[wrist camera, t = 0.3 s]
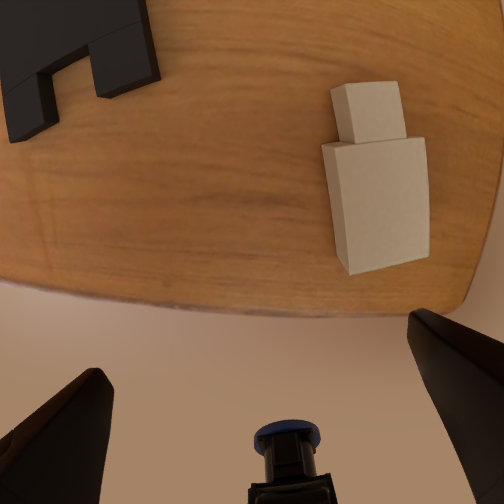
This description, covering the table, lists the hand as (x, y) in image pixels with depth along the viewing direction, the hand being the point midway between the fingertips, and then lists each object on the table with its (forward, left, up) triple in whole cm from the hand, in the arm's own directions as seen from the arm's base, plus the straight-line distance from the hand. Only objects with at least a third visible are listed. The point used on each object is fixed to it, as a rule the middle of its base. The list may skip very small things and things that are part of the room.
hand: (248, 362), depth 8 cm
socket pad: (+24, +9, -14) cm, 29 cm away
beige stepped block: (+1, -9, -14) cm, 16 cm away
